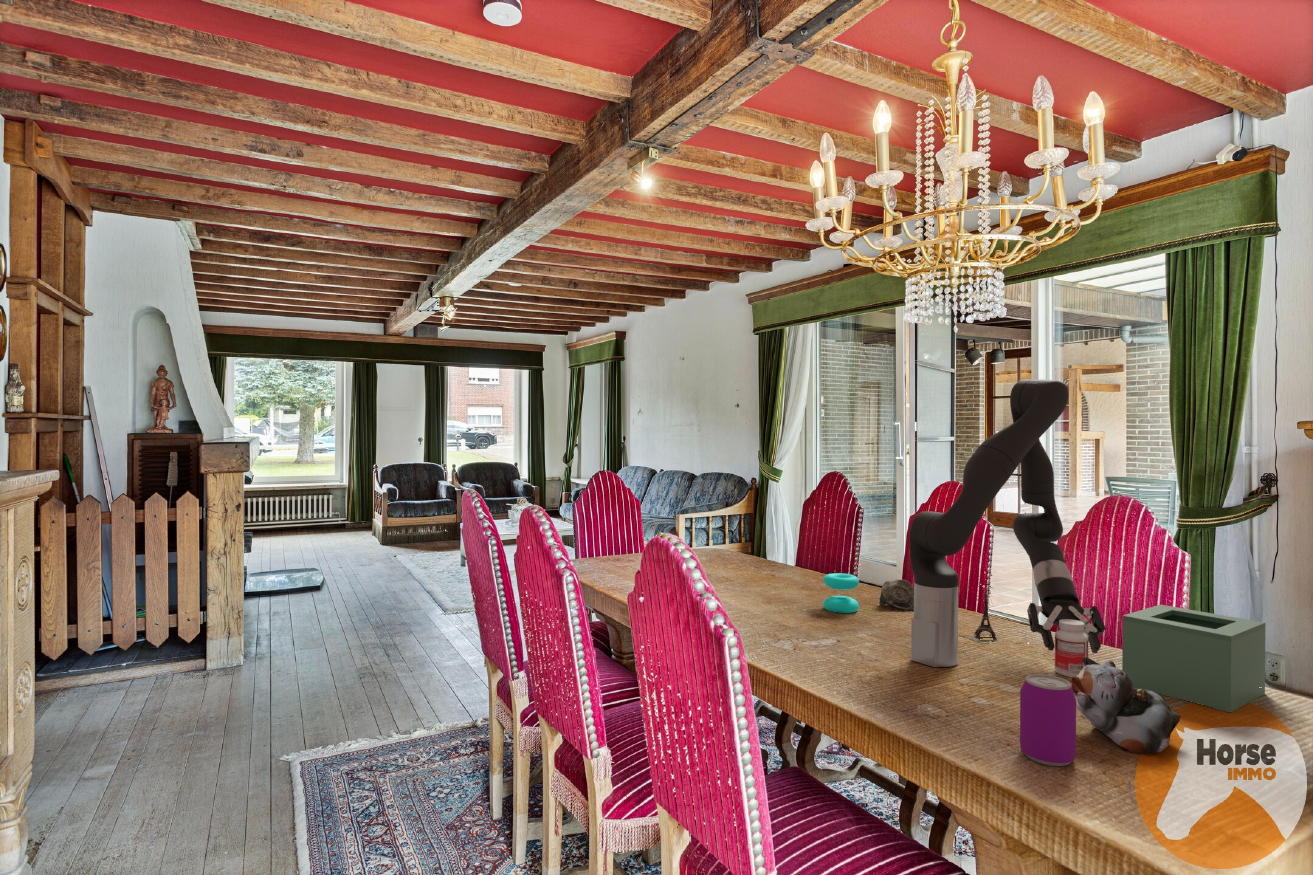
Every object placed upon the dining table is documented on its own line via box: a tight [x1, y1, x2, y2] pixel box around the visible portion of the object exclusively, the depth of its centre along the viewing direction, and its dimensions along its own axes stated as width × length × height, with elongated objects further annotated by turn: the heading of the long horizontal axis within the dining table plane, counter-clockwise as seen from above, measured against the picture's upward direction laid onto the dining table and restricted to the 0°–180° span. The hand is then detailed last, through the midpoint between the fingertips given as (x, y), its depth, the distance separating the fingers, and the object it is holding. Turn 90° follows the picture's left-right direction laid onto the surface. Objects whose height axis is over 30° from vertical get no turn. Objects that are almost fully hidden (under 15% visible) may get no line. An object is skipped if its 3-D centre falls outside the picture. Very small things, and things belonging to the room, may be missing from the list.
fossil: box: [878, 579, 914, 612], centre depth 211 cm, size 11×9×10 cm
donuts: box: [822, 572, 860, 614], centre depth 206 cm, size 10×10×10 cm
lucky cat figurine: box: [1069, 657, 1181, 756], centre depth 119 cm, size 15×12×14 cm
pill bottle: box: [1054, 619, 1089, 678], centre depth 151 cm, size 6×6×11 cm
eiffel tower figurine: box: [964, 589, 1019, 645], centre depth 179 cm, size 15×10×13 cm
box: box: [1121, 604, 1266, 713], centre depth 143 cm, size 18×18×14 cm
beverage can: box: [1019, 673, 1077, 767], centre depth 111 cm, size 8×8×12 cm
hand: (1073, 650), depth 150 cm, fingers open, 8 cm apart
